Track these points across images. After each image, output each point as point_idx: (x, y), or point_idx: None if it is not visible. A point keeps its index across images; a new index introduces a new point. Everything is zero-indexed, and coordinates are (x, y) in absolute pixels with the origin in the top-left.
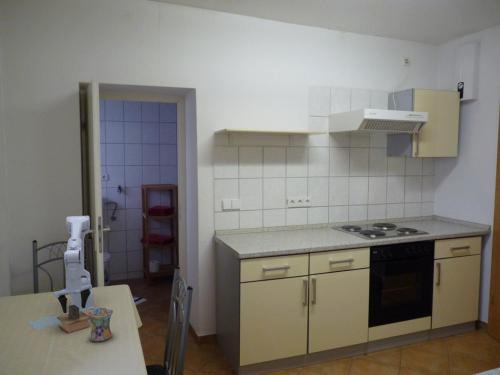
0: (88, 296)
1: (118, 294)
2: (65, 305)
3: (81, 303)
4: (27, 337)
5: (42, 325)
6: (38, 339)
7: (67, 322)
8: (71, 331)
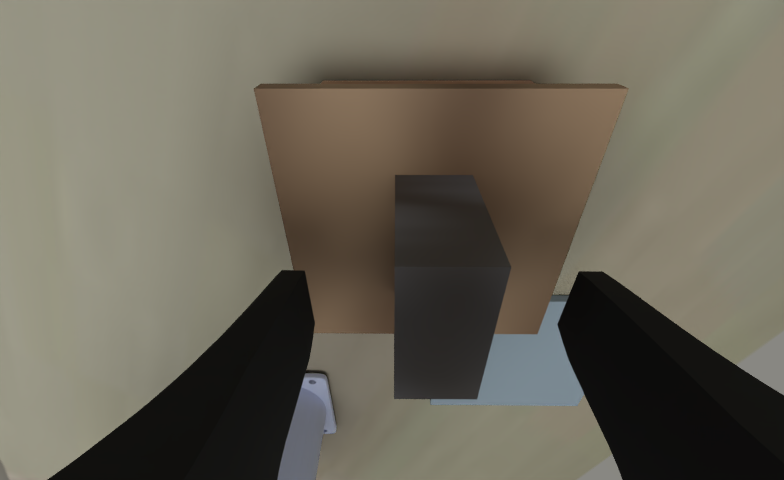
0: (57, 477)
1: (38, 437)
2: (719, 382)
3: (302, 374)
4: (740, 248)
5: (559, 337)
6: (747, 160)
7: (578, 138)
8: (504, 83)
